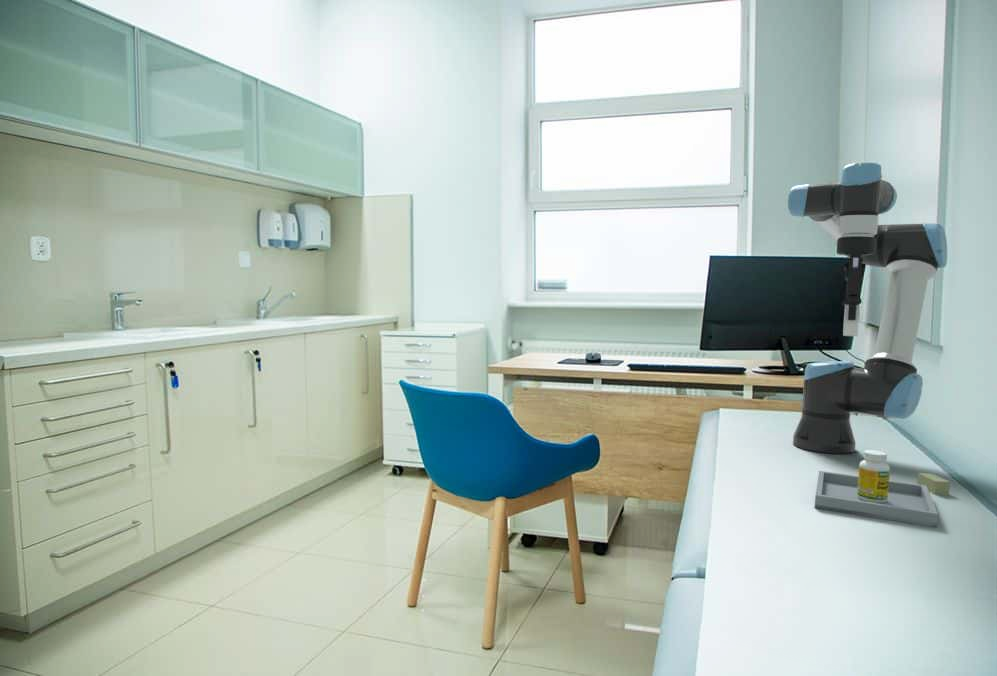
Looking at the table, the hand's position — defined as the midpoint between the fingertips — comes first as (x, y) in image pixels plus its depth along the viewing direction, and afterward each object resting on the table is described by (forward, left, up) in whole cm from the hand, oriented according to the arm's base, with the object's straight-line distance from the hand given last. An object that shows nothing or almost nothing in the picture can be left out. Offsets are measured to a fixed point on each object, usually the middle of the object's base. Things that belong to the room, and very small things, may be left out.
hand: (849, 334), depth 148 cm
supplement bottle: (+15, +6, -32) cm, 36 cm away
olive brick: (-2, +18, -33) cm, 37 cm away
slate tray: (+15, +6, -33) cm, 36 cm away
